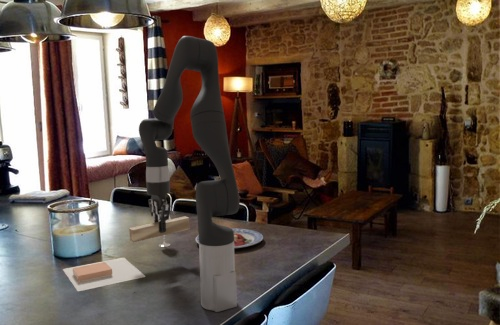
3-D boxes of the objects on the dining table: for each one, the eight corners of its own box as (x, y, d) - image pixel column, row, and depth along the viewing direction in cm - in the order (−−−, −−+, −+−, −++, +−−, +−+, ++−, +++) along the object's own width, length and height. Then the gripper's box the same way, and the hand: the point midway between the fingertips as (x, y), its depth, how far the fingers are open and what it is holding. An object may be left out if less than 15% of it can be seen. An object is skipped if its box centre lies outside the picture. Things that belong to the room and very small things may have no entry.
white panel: (146, 279, 145) (145, 276, 145) (78, 294, 134) (77, 291, 134) (123, 260, 163) (123, 257, 163) (62, 272, 153) (62, 269, 153)
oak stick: (190, 229, 162) (189, 217, 161) (133, 242, 151) (132, 230, 150) (186, 227, 164) (185, 216, 164) (130, 240, 153) (129, 228, 153)
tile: (112, 269, 146) (78, 276, 141) (112, 275, 146) (78, 282, 141) (104, 262, 153) (72, 268, 147) (105, 267, 153) (73, 274, 148)
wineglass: (157, 248, 176) (155, 216, 174) (156, 243, 181) (154, 213, 180) (172, 246, 177) (171, 215, 176) (171, 242, 183) (170, 211, 181)
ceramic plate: (182, 248, 176) (181, 240, 176) (218, 230, 199) (218, 223, 199) (242, 257, 164) (242, 249, 164) (274, 237, 187) (274, 230, 187)
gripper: (177, 180, 152) (179, 233, 153) (160, 176, 163) (162, 225, 165) (155, 183, 147) (157, 237, 149) (139, 178, 159) (141, 228, 161)
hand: (160, 230), depth 157 cm, fingers closed on oak stick, 3 cm apart
